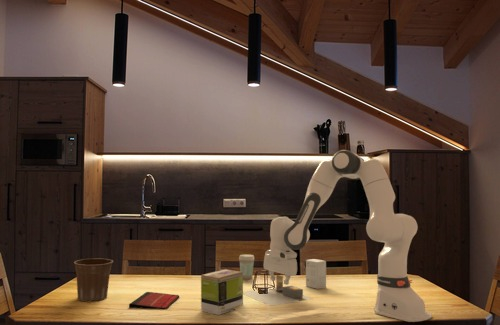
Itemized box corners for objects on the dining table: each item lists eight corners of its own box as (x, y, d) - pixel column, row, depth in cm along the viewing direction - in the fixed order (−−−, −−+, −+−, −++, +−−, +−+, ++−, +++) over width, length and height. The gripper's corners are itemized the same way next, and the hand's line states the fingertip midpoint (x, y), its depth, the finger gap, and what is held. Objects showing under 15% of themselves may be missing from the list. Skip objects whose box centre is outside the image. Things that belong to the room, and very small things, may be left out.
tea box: (225, 303, 195) (225, 268, 196) (243, 307, 189) (243, 271, 189) (200, 311, 183) (200, 273, 184) (218, 316, 177) (218, 277, 178)
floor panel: (312, 302, 198) (313, 298, 198) (270, 309, 186) (270, 305, 187) (278, 289, 220) (278, 286, 220) (238, 295, 209) (238, 292, 209)
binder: (128, 303, 187) (146, 291, 208) (128, 309, 187) (145, 296, 207) (167, 306, 185) (180, 294, 206) (166, 312, 185) (180, 299, 206)
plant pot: (119, 295, 207) (120, 259, 207) (98, 304, 191) (99, 265, 192) (88, 292, 211) (88, 257, 212) (65, 301, 196) (65, 263, 196)
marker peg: (284, 291, 210) (284, 276, 211) (278, 292, 209) (279, 276, 209) (280, 290, 213) (280, 275, 213) (274, 291, 211) (275, 275, 211)
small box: (326, 287, 226) (326, 260, 227) (317, 289, 222) (317, 262, 223) (314, 284, 232) (314, 258, 233) (305, 286, 228) (305, 259, 229)
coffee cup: (236, 276, 249) (236, 254, 249) (251, 276, 251) (251, 253, 252) (241, 280, 241) (241, 257, 241) (256, 279, 243) (256, 256, 244)
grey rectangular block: (302, 297, 200) (302, 288, 200) (293, 298, 198) (293, 290, 198) (291, 293, 207) (291, 285, 207) (282, 294, 204) (282, 286, 205)
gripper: (260, 249, 218) (260, 279, 217) (288, 255, 201) (288, 287, 201) (270, 248, 222) (270, 277, 221) (299, 254, 205) (299, 285, 205)
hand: (279, 282), depth 211 cm, fingers open, 8 cm apart
